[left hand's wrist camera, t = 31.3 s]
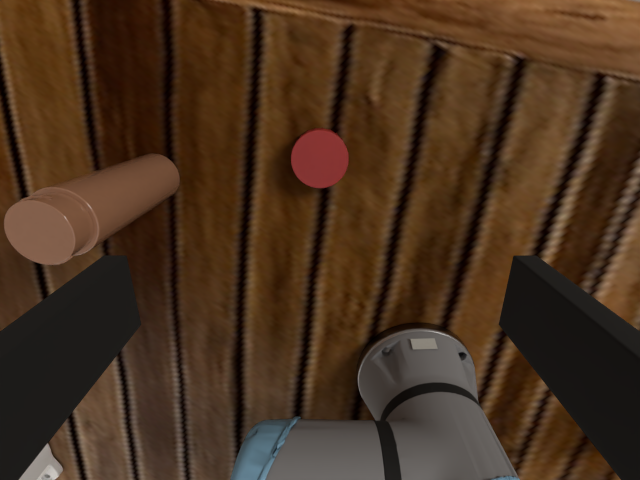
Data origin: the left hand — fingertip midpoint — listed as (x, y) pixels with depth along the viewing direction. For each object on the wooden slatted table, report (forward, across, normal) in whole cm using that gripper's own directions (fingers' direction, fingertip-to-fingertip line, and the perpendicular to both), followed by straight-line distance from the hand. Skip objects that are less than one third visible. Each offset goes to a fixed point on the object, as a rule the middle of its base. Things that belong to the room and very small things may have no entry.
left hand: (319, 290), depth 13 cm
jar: (+28, +18, +2) cm, 34 cm away
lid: (+26, 0, 0) cm, 26 cm away
